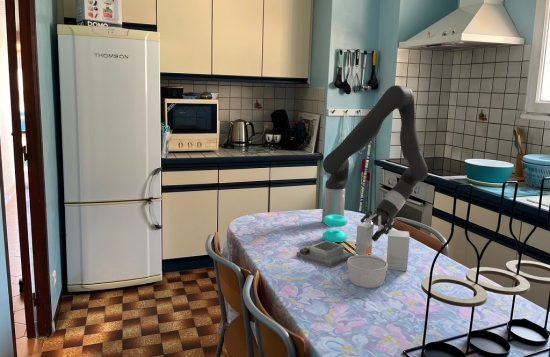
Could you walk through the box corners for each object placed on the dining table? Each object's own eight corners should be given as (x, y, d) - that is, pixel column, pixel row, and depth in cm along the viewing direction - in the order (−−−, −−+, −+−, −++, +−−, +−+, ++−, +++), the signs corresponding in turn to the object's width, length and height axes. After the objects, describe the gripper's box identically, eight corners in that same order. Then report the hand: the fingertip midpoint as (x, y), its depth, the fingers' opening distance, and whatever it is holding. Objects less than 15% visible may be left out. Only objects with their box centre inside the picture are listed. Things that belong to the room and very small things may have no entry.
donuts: (319, 214, 196) (340, 212, 199) (318, 237, 198) (338, 235, 201) (330, 221, 187) (352, 219, 190) (329, 244, 189) (350, 242, 192)
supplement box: (407, 264, 170) (409, 231, 167) (407, 271, 163) (409, 237, 160) (386, 261, 172) (388, 229, 169) (385, 269, 165) (388, 235, 162)
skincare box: (365, 258, 175) (367, 227, 173) (354, 255, 178) (356, 225, 175) (372, 253, 180) (374, 224, 177) (362, 251, 182) (364, 221, 180)
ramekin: (386, 292, 147) (388, 271, 145) (344, 287, 149) (346, 267, 148) (385, 275, 159) (387, 256, 158) (347, 271, 162) (348, 252, 161)
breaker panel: (296, 255, 175) (296, 245, 175) (318, 247, 186) (319, 237, 185) (330, 267, 165) (331, 257, 164) (352, 257, 175) (353, 247, 174)
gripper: (374, 194, 185) (349, 225, 182) (399, 202, 173) (373, 236, 170) (383, 206, 188) (359, 236, 185) (408, 215, 176) (383, 248, 173)
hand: (366, 236), depth 177 cm, fingers open, 8 cm apart
